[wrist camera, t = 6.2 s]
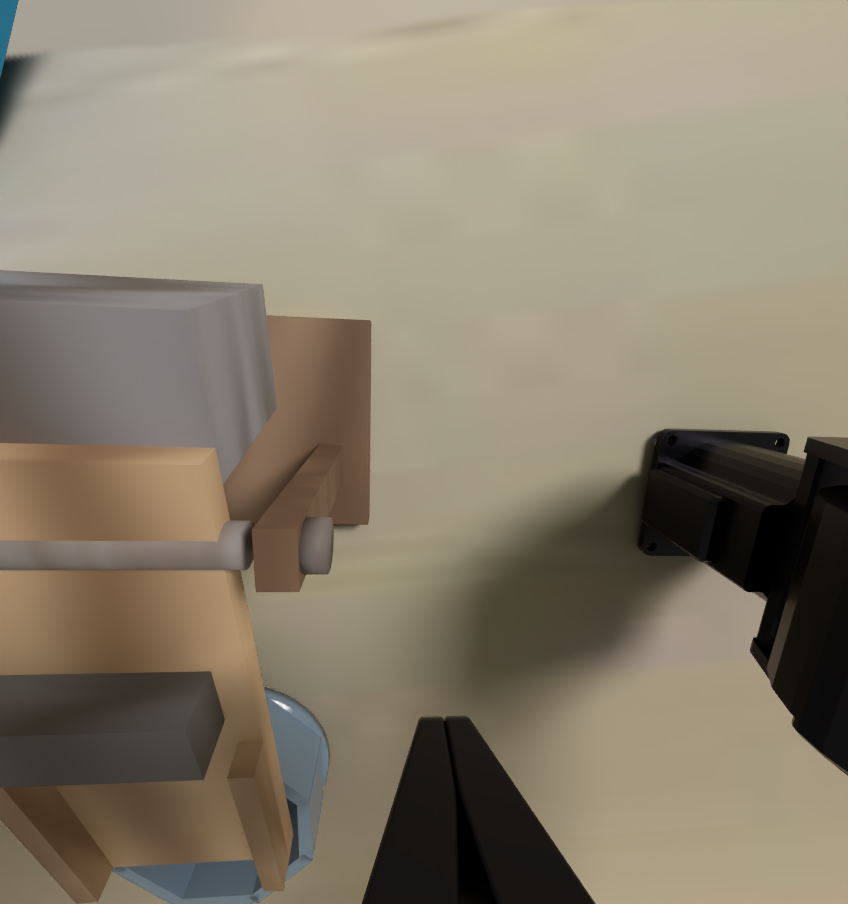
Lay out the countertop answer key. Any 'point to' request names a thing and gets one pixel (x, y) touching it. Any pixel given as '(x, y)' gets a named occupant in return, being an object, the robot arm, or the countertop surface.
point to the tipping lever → (132, 578)
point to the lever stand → (307, 450)
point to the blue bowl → (304, 775)
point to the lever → (6, 26)
